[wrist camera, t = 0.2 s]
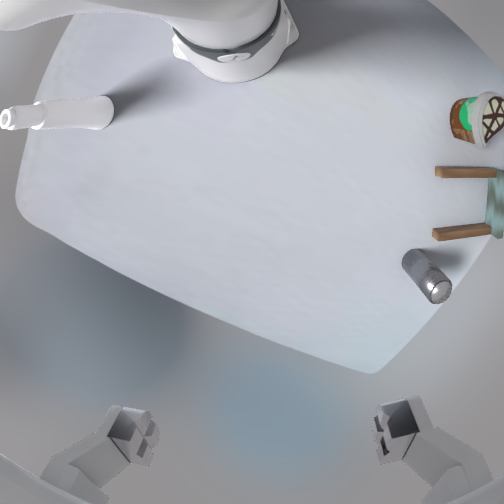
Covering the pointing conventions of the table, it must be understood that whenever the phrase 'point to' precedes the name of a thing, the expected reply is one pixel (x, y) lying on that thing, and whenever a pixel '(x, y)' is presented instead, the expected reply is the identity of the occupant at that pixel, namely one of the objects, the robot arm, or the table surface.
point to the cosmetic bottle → (60, 114)
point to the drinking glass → (427, 276)
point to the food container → (477, 118)
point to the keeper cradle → (497, 212)
